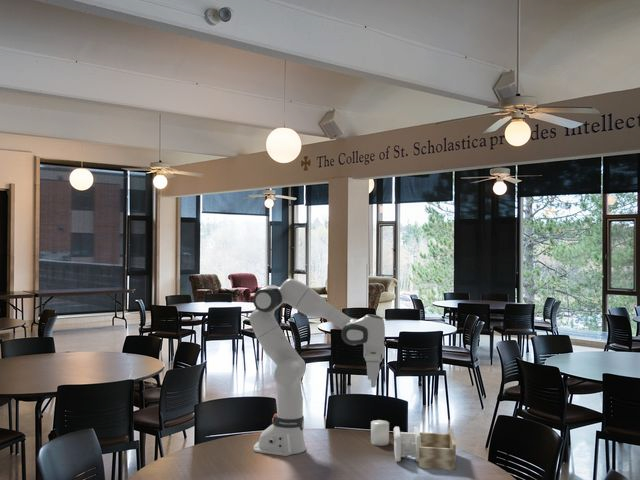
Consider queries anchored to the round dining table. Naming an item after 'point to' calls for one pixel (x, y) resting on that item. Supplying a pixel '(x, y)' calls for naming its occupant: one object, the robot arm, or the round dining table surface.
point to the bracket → (437, 451)
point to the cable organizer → (406, 444)
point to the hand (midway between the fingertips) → (373, 386)
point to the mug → (379, 432)
